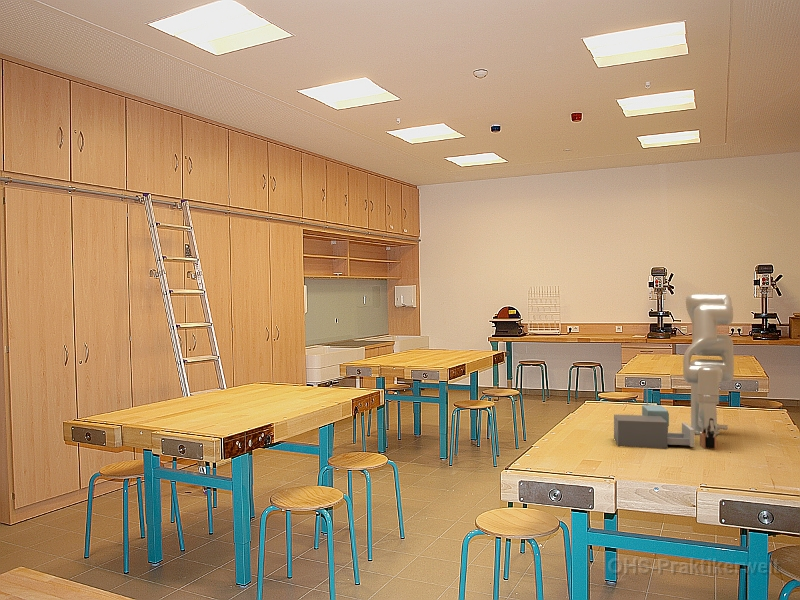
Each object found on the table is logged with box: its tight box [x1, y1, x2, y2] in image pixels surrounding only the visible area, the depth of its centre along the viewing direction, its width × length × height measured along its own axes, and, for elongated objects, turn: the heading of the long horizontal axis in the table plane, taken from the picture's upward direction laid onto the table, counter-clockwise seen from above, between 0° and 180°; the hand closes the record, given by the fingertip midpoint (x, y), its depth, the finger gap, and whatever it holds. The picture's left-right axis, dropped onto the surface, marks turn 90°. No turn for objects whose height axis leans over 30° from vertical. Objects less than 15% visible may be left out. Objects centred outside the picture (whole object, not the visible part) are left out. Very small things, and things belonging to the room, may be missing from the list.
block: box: [699, 433, 718, 450], centre depth 260 cm, size 5×5×5 cm
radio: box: [641, 386, 670, 433], centre depth 282 cm, size 16×9×20 cm, turn 168°
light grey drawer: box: [667, 422, 695, 448], centre depth 264 cm, size 17×16×6 cm
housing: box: [613, 414, 668, 449], centre depth 267 cm, size 18×15×10 cm
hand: (708, 445), depth 260 cm, fingers closed on block, 5 cm apart
